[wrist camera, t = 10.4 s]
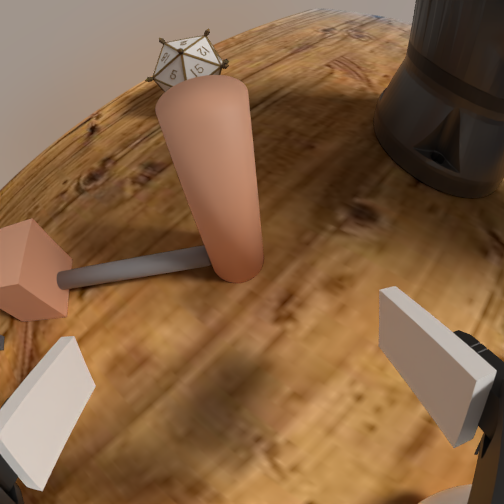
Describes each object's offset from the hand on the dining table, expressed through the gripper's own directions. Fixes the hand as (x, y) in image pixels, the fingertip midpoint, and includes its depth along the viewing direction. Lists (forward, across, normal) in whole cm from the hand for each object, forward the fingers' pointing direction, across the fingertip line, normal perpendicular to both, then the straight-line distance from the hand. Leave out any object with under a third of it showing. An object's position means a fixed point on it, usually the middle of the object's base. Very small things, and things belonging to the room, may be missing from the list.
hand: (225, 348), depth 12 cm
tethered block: (+11, -8, +1) cm, 13 cm away
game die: (+25, -1, +16) cm, 30 cm away
